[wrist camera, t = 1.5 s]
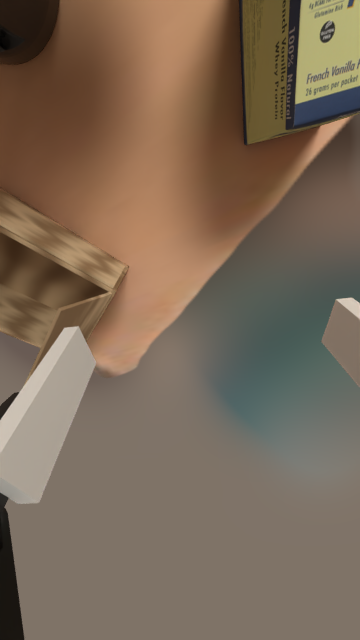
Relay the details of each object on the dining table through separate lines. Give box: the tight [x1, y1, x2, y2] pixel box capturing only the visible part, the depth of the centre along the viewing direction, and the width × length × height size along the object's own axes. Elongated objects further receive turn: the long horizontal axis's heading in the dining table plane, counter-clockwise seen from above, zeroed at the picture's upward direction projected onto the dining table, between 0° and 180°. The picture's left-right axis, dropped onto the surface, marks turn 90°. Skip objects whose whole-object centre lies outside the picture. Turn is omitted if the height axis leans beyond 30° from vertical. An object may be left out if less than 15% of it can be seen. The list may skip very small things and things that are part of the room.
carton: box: [0, 188, 129, 348], centre depth 36 cm, size 22×18×10 cm
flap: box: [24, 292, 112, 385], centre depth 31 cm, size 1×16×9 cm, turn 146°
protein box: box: [239, 0, 360, 145], centre depth 19 cm, size 10×16×16 cm
